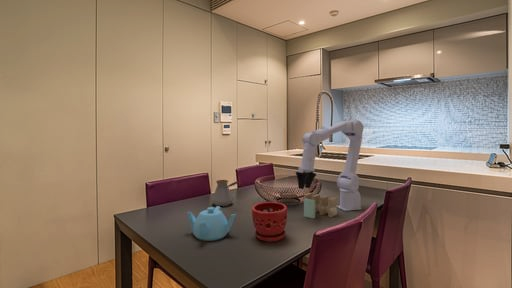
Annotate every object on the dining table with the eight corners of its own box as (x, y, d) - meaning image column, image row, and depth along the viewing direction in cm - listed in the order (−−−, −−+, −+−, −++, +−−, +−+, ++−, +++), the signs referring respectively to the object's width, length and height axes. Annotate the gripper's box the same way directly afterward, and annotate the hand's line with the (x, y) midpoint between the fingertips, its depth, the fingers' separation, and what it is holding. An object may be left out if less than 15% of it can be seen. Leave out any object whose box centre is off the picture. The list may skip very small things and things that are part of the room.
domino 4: (328, 216, 131) (328, 199, 130) (333, 213, 134) (333, 197, 134) (331, 217, 130) (331, 199, 129) (336, 214, 133) (336, 197, 133)
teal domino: (305, 215, 133) (305, 198, 132) (315, 217, 129) (315, 200, 129) (303, 216, 132) (303, 199, 131) (313, 218, 128) (313, 201, 128)
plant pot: (254, 230, 114) (253, 201, 114) (287, 231, 113) (286, 201, 112) (250, 244, 101) (249, 211, 101) (287, 245, 100) (287, 211, 99)
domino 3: (319, 214, 134) (319, 197, 133) (325, 211, 137) (325, 195, 137) (322, 215, 133) (322, 198, 132) (328, 212, 136) (328, 196, 136)
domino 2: (311, 212, 137) (311, 196, 136) (317, 210, 140) (317, 194, 140) (314, 213, 136) (314, 196, 135) (320, 210, 139) (320, 194, 139)
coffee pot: (207, 204, 153) (207, 176, 152) (225, 200, 160) (225, 174, 159) (230, 213, 136) (229, 182, 135) (248, 209, 144) (248, 179, 143)
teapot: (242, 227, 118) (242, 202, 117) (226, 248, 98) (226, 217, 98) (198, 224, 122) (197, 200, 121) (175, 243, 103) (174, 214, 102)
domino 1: (303, 210, 140) (303, 194, 139) (309, 208, 144) (309, 192, 143) (306, 211, 139) (306, 195, 138) (312, 208, 142) (312, 193, 142)
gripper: (306, 158, 138) (302, 185, 138) (293, 156, 126) (289, 187, 126) (320, 160, 134) (316, 188, 134) (308, 159, 122) (304, 190, 122)
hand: (304, 188), depth 130 cm, fingers open, 7 cm apart
